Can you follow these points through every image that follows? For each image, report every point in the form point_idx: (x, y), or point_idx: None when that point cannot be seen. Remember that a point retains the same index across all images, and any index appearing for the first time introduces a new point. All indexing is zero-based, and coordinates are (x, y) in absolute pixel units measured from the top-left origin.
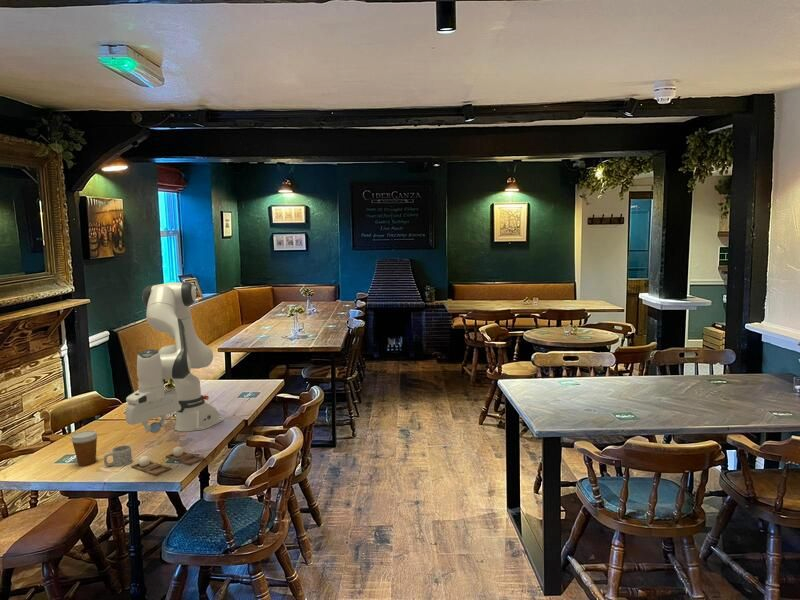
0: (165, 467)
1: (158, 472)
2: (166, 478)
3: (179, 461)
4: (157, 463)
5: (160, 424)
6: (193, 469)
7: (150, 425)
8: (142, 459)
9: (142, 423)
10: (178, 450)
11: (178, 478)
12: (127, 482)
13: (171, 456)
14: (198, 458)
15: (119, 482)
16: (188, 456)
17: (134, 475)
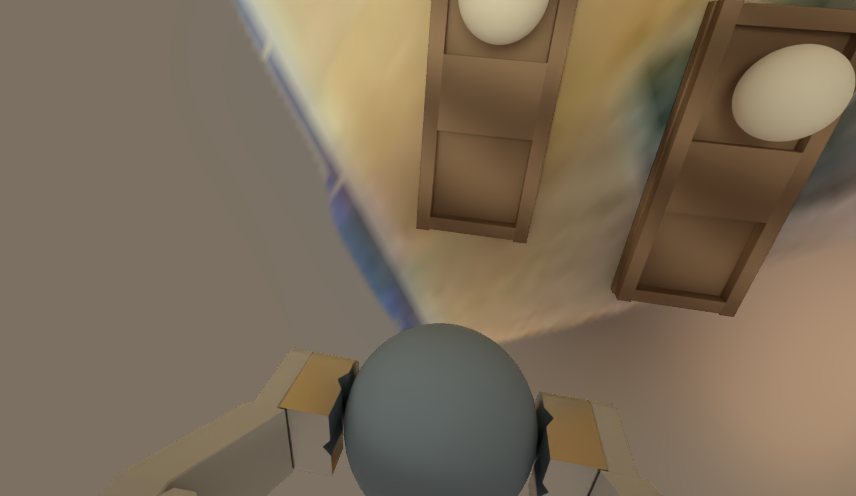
0: (521, 196)
1: (441, 222)
2: (439, 275)
3: (652, 191)
4: (555, 85)
5: (529, 489)
6: (586, 320)
7: (349, 447)
8: (472, 12)
9: (131, 489)
10: (768, 131)
11: (465, 326)
12: (298, 117)
13: (754, 27)
14: (737, 265)
15: (270, 68)
16: (743, 199)
17: (379, 59)
